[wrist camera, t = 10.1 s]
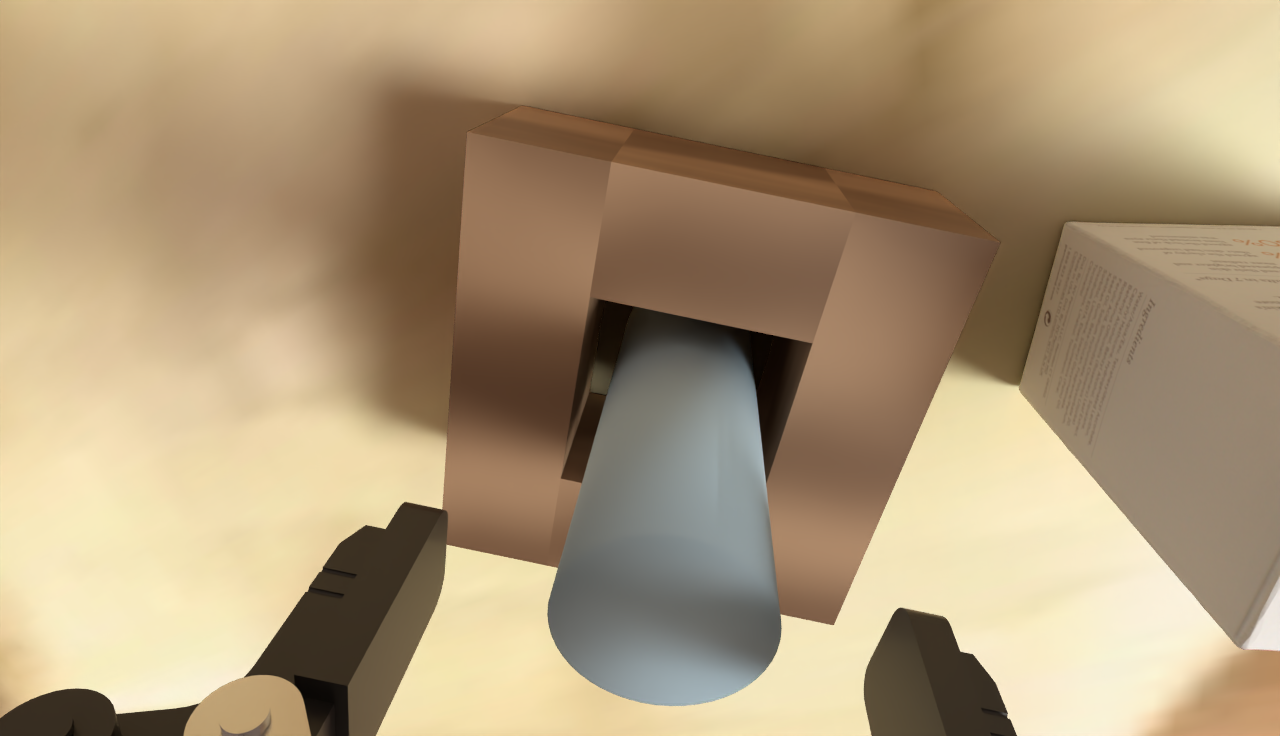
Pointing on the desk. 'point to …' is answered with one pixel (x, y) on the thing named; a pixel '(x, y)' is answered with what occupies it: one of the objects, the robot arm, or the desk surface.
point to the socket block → (705, 290)
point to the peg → (672, 524)
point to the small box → (1175, 398)
